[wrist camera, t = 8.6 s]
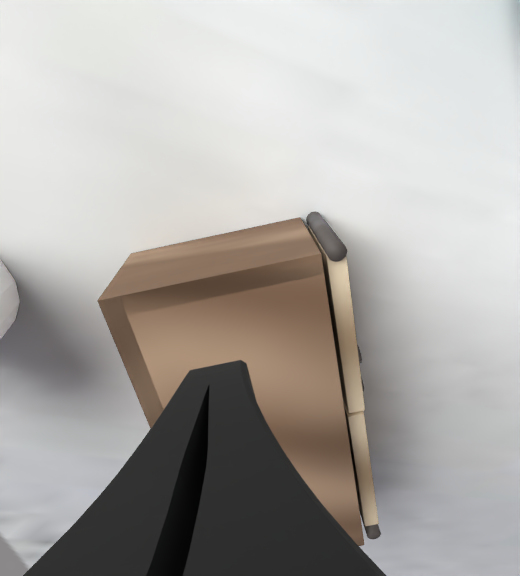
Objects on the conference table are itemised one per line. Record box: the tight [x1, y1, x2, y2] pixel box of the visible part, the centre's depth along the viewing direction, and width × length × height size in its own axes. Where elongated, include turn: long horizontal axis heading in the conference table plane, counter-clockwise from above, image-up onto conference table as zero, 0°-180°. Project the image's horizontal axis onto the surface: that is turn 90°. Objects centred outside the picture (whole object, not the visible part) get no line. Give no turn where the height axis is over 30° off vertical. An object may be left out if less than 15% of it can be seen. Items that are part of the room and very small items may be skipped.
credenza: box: [98, 212, 365, 546], centre depth 20 cm, size 16×10×5 cm, turn 12°
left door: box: [342, 378, 381, 539], centre depth 21 cm, size 8×1×5 cm, turn 12°
